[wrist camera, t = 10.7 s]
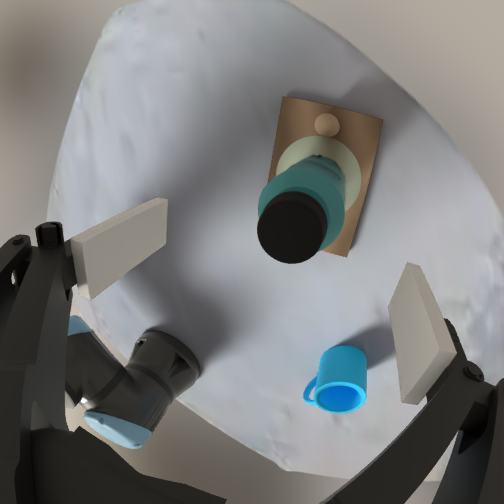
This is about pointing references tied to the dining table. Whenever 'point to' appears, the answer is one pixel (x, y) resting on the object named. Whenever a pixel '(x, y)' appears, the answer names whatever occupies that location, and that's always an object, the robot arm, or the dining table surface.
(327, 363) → the mug
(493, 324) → the dining table surface
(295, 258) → the beverage bottle
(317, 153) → the wooden board with pegs
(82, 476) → the robot arm
